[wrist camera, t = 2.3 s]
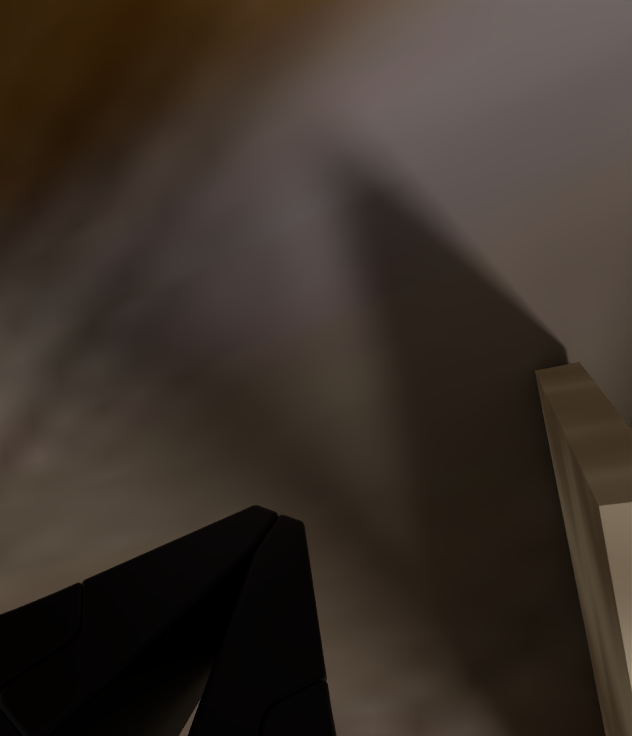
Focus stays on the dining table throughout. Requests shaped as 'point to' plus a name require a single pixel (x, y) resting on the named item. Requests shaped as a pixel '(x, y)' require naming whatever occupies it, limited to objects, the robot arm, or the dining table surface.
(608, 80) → the dining table surface
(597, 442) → the beige plank
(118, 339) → the dining table surface
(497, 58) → the dining table surface
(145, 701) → the robot arm
